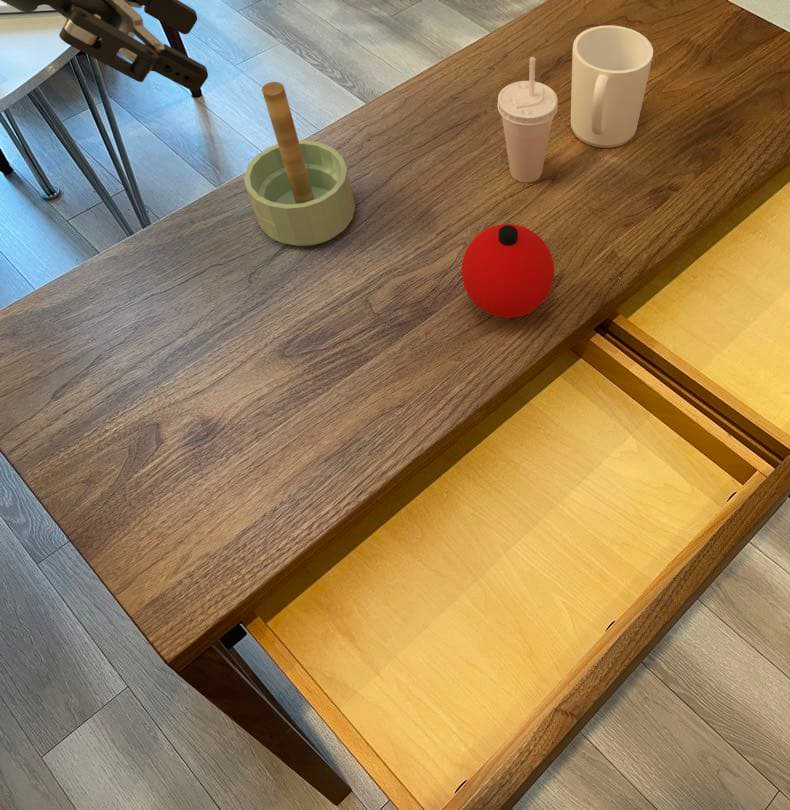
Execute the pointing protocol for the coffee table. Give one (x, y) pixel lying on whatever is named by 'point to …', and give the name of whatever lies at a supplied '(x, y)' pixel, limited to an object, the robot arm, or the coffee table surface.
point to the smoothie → (527, 124)
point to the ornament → (507, 270)
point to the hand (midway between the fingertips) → (197, 51)
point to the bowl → (302, 219)
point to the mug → (608, 84)
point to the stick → (287, 141)
